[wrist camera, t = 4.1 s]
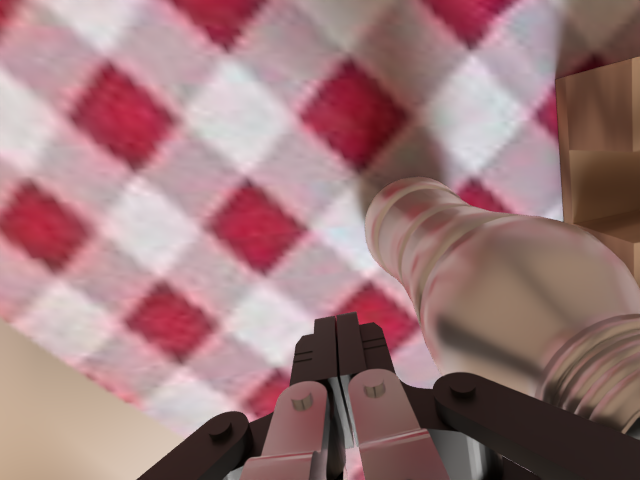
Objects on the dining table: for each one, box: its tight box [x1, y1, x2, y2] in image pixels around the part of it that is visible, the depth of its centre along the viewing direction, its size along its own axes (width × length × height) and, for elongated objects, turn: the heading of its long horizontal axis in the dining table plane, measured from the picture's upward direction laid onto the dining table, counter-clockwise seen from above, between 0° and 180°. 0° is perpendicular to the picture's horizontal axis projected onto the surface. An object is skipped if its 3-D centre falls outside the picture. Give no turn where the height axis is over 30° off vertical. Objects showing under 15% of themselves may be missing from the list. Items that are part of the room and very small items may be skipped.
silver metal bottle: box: [365, 177, 640, 440], centre depth 16 cm, size 6×7×20 cm
